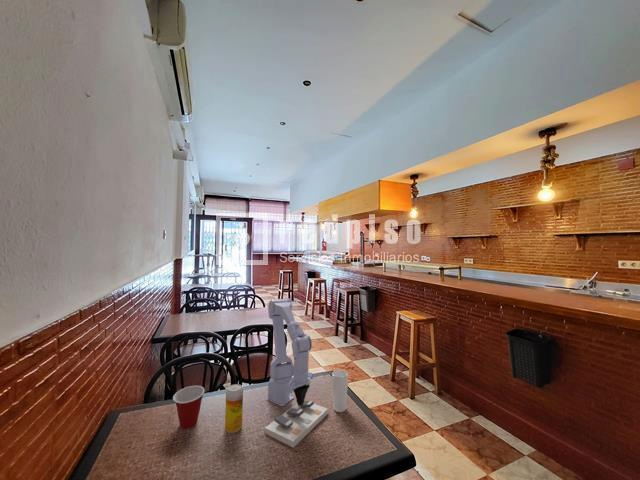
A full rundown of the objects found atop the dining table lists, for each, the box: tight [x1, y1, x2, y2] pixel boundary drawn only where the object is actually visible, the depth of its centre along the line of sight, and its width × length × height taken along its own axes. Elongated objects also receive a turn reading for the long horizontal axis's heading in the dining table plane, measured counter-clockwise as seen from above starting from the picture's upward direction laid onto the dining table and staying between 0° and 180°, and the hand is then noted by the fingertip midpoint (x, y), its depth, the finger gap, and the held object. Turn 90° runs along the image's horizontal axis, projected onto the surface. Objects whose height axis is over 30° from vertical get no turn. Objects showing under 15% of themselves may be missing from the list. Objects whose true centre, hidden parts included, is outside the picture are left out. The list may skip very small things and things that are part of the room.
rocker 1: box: [274, 413, 293, 429], centre depth 100 cm, size 6×3×1 cm, turn 58°
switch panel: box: [264, 402, 329, 448], centre depth 105 cm, size 13×23×2 cm, turn 148°
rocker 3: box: [298, 399, 315, 408], centre depth 112 cm, size 6×3×1 cm, turn 58°
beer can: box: [224, 383, 244, 434], centre depth 101 cm, size 6×6×15 cm
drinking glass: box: [331, 369, 349, 413], centre depth 115 cm, size 7×7×15 cm
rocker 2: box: [286, 407, 304, 416], centre depth 106 cm, size 6×3×1 cm, turn 58°
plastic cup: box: [172, 385, 205, 430], centre depth 103 cm, size 11×11×12 cm
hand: (300, 403), depth 105 cm, fingers closed
